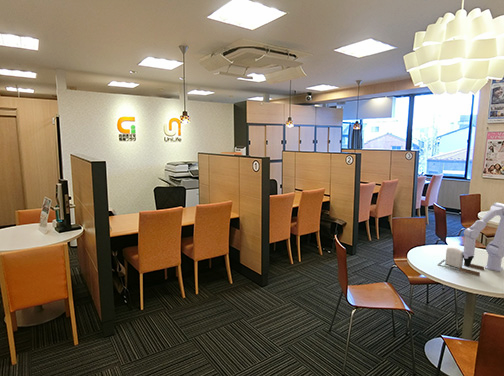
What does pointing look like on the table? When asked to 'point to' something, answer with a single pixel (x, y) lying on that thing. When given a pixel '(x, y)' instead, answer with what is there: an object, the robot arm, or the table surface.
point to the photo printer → (454, 257)
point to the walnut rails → (472, 270)
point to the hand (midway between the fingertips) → (467, 266)
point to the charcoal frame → (444, 266)
